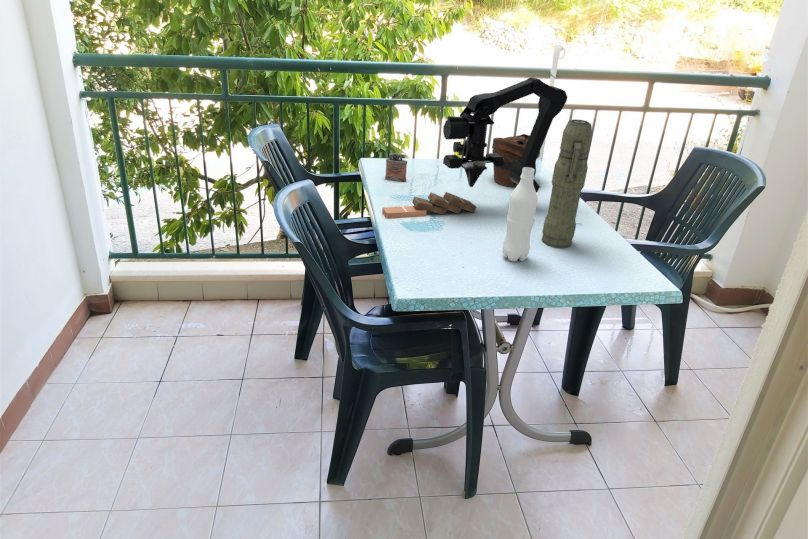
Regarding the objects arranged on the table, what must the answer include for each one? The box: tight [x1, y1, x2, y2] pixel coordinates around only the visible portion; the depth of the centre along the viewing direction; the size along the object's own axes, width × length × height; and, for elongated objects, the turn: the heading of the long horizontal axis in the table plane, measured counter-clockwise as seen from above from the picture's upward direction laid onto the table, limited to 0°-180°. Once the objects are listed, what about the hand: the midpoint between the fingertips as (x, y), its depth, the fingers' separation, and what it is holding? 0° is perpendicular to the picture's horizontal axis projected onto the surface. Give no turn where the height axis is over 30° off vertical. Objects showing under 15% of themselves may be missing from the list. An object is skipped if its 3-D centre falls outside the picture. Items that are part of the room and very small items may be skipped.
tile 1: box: [442, 191, 477, 214], centre depth 182 cm, size 2×5×10 cm
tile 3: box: [412, 196, 447, 215], centre depth 180 cm, size 2×5×10 cm
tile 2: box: [427, 192, 462, 215], centre depth 180 cm, size 2×5×10 cm
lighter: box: [384, 152, 408, 183], centre depth 206 cm, size 8×3×10 cm, turn 73°
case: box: [491, 133, 541, 188], centre depth 210 cm, size 18×20×18 cm
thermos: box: [541, 119, 593, 249], centre depth 157 cm, size 9×12×35 cm
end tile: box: [381, 205, 428, 220], centre depth 178 cm, size 2×5×13 cm
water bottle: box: [501, 167, 539, 262], centre depth 148 cm, size 7×7×25 cm
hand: (470, 186), depth 181 cm, fingers closed
